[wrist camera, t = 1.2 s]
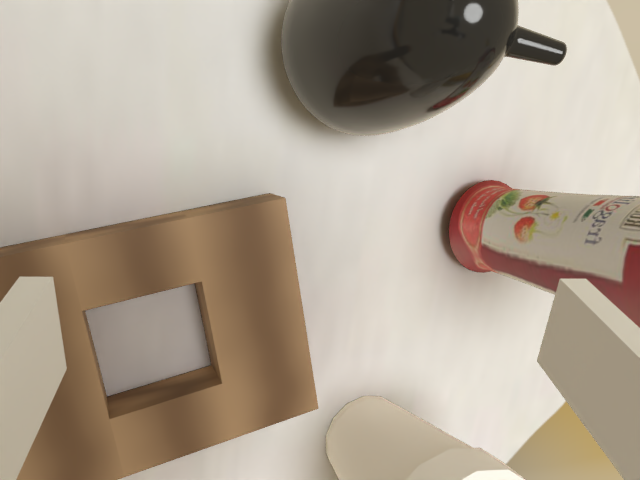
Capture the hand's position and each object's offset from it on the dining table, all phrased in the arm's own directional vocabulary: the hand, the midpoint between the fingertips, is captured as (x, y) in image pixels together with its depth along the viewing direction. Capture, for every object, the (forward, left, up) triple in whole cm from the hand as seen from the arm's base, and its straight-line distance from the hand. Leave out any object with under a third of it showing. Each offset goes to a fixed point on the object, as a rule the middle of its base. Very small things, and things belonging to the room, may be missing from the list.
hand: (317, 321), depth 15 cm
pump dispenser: (+4, +14, -22) cm, 26 cm away
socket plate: (+2, -7, -22) cm, 23 cm away
